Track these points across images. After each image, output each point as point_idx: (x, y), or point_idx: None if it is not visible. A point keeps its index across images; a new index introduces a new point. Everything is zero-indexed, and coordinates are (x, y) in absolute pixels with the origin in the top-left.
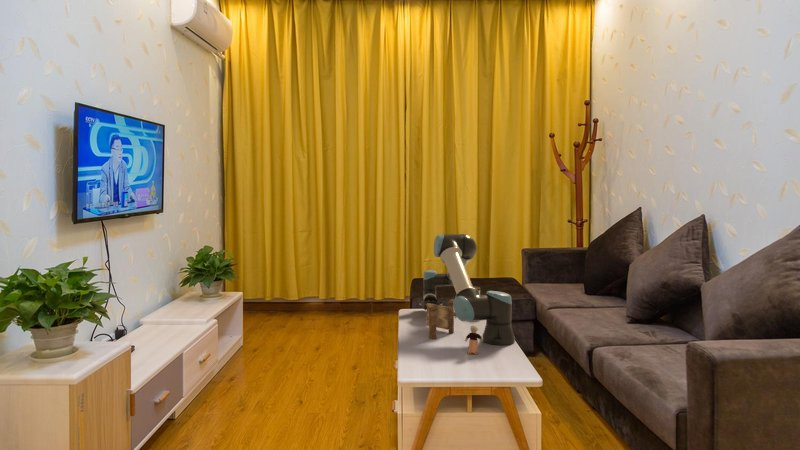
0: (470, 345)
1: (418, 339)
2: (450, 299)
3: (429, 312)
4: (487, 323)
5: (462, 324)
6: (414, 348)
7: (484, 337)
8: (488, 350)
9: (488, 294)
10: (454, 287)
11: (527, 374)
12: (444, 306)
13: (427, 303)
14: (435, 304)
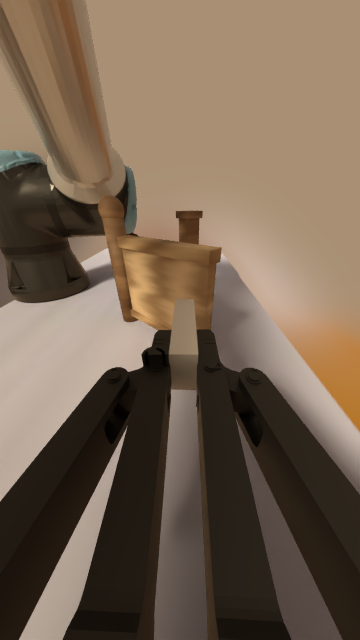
0: None
1: (219, 290)
2: (112, 196)
3: (198, 226)
4: (69, 247)
5: (8, 411)
6: (219, 270)
7: (86, 274)
8: (107, 269)
9: (44, 162)
10: (107, 129)
11: (108, 249)
12: (135, 237)
13: (214, 249)
14: (168, 244)
